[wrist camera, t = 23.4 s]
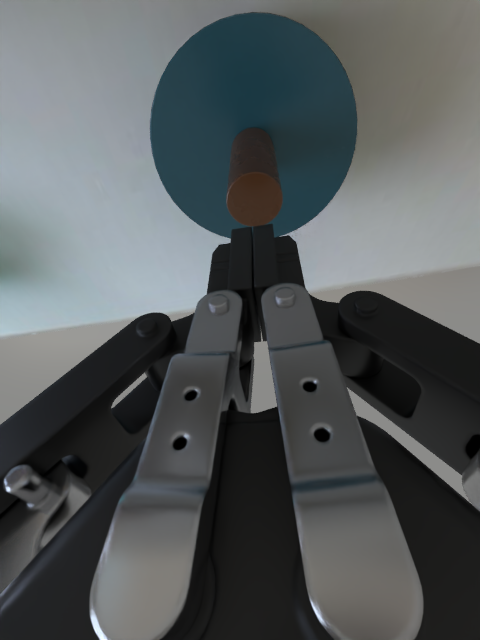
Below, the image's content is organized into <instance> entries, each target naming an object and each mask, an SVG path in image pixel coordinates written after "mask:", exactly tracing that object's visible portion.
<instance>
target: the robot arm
mask: <svg viewBox="0 0 480 640" xmlns="http://www.w3.org/2000/svg"><path fill="white" fill-rule="evenodd" d="M211 263H212V264H211V268H210V270H211V271H210V275H209V282H208V289H207V295H205V296H204V297H203V298H201V300H200V301H199V302H198V304H197V306H196V310H195V313H193V314H191V315H189V316H187V317H184V318H182V319H179V320H175V321H173V322H171V320H170V318H169V317H168V316H167V315H165V314H163V313H148V314H145V315H143V316H140V317H138V318H137V319H135V320H134V321H132V322H131V323H130V324H129V325H127V326H126V327H125V328H124V329H122V330H121V331H120V332H119V333H117V334H116V335H115V336H113V337H112V338H111V339H109V340H108V341H107V342H106V343H105V344H103V345H102V346H101V347H99V348H98V349H97V350H95V351H94V352H93V353H92V354H90V355H89V356H88V357H86V358H85V359H84V360H83V361H81V362H80V363H79V364H78V365H76V366H75V367H74V368H73V369H71V370H70V371H69V372H67V373H66V374H65V375H63V376H62V377H61V378H60V379H58V380H57V381H56V382H55V383H53V384H52V385H51V386H49V387H48V388H47V389H46V390H44V391H43V392H42V393H40V394H39V395H38V396H37V397H35V398H34V399H33V400H32V401H30V402H29V403H28V404H26V405H25V406H24V407H23V408H21V409H20V410H19V411H17V412H16V413H15V414H14V415H12V416H11V417H10V418H9V419H7V420H6V421H5V422H3V423H2V424H1V425H0V640H480V344H479V343H477V342H475V341H473V340H471V339H469V338H467V337H465V336H463V335H461V334H459V333H457V332H455V331H453V330H451V329H449V328H447V327H445V326H443V325H441V324H439V323H437V322H435V321H433V320H431V319H429V318H427V317H425V316H423V315H421V314H419V313H417V312H415V311H413V310H411V309H409V308H407V307H405V306H403V305H401V304H399V303H397V302H395V301H393V300H391V299H389V298H387V297H385V296H383V295H381V294H379V293H376V292H371V291H356V292H352V293H350V294H347V295H346V296H344V297H343V298H342V299H341V300H340V303H334V302H326V301H322V300H319V299H317V298H315V297H313V296H311V295H310V294H309V293H308V291H307V290H306V288H305V284H304V279H303V274H302V269H301V264H300V260H299V254H298V249H297V244H296V242H295V241H294V240H293V239H292V238H291V237H290V236H281V237H274V230H273V224H267V225H259V226H253V231H252V227H245V228H238V229H232V231H231V243H229V244H221V245H219V246H218V247H217V248H216V250H215V251H214V252H213V254H212V261H211ZM261 332H262V337H263V341H267V343H268V349H269V356H270V363H271V369H272V375H273V382H274V388H275V394H276V401H277V407H275V408H272V409H268V410H266V411H262V412H259V413H251V397H252V385H253V384H252V383H253V371H254V357H253V354H254V342H261ZM144 372H145V374H146V375H147V378H146V379H145V380H143V381H142V382H141V383H140V384H139V385H138V386H137V387H136V388H135V389H133V390H132V391H131V392H130V393H129V394H128V395H127V396H126V397H125V398H124V399H123V400H121V401H120V402H119V403H118V404H117V405H116V406H115V407H114V408H112V409H111V406H112V403H113V402H114V400H115V399H116V398H117V397H118V396H119V395H120V394H121V393H122V392H123V391H124V390H125V389H127V388H128V387H129V386H130V385H131V384H132V383H133V382H134V381H136V380H137V378H139V377H140V376H141V375H142V374H143V373H144ZM347 387H348V388H349V389H350V390H351V391H353V392H354V393H355V394H357V395H358V396H359V397H361V398H362V399H363V400H364V401H366V402H367V403H368V404H370V405H371V406H372V407H374V408H375V409H377V411H379V412H380V413H381V414H383V415H384V416H385V417H387V418H388V419H389V420H391V421H392V422H393V423H395V424H396V425H397V426H398V427H400V428H401V429H402V430H404V431H405V432H406V433H407V434H409V435H410V436H411V437H413V438H414V439H415V440H417V441H418V442H419V443H420V444H422V445H423V446H424V447H426V448H427V449H428V450H430V451H431V452H432V453H433V454H435V455H436V456H437V457H439V458H440V459H441V460H443V461H444V462H445V463H447V464H448V465H449V466H450V467H452V468H453V469H454V470H456V471H457V472H458V473H459V474H461V475H462V485H463V488H464V491H465V494H466V496H467V497H468V499H469V501H470V502H471V503H472V504H471V503H469V502H468V501H467V500H466V499H465V498H464V497H462V496H461V495H460V494H459V493H457V492H456V491H455V490H454V489H453V488H452V487H450V486H449V485H448V484H447V483H446V482H445V481H444V480H442V479H441V478H440V477H439V476H438V475H436V474H435V473H434V472H433V471H432V470H431V469H429V468H428V467H427V466H426V465H425V464H423V463H422V462H421V461H420V460H419V459H418V458H416V457H415V456H414V455H413V454H412V453H410V452H409V451H408V450H407V449H406V448H405V447H404V446H402V445H401V444H400V443H399V442H398V441H396V440H395V439H394V438H393V437H392V436H391V435H389V434H388V433H387V432H386V431H384V430H383V429H381V428H380V427H378V426H377V425H375V424H373V423H371V422H369V421H368V420H366V419H364V418H361V417H359V416H357V415H356V412H355V410H354V407H353V404H352V401H351V398H350V396H349V392H348V390H347Z"/></svg>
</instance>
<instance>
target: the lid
mask: <svg viewBox="0 0 480 640" xmlns="http://www.w3.org/2000/svg"><path fill="white" fill-rule="evenodd" d="M356 137H357V111H356V102H355V98H354V94H353V90H352V86H351V84H350V81H349V79H348V76H347V73H346V71H345V70H344V68H343V66H342V64H341V62H340V61H339V59H338V57H337V56H336V55H335V53H334V52H333V51H332V50H331V48H330V47H329V46H328V45H327V44H326V43H325V42H324V41H323V40H322V39H321V38H320V37H319V36H318V35H317V34H316V33H314V32H313V31H311V30H310V29H308V28H307V27H305V26H304V25H302V24H300V23H298V22H296V21H293V20H291V19H289V18H286V17H283V16H279V15H275V14H271V13H257V12H251V13H243V14H236V15H232V16H229V17H226V18H223V19H220V20H218V21H216V22H214V23H212V24H210V25H208V26H206V27H204V28H203V29H202V30H200V31H199V32H197V33H196V34H195V35H193V36H192V37H191V38H190V39H189V40H188V41H187V42H186V43H185V44H184V45H183V46H182V47H181V48H180V49H179V50H178V51H177V53H176V54H175V55H174V57H173V58H172V59H171V61H170V62H169V64H168V65H167V67H166V69H165V71H164V73H163V75H162V77H161V79H160V81H159V84H158V87H157V89H156V92H155V96H154V100H153V104H152V109H151V119H150V141H151V148H152V154H153V158H154V162H155V166H156V169H157V171H158V174H159V177H160V179H161V181H162V183H163V185H164V187H165V189H166V191H167V192H168V194H169V195H170V197H171V198H172V200H173V201H174V202H175V203H176V205H177V206H178V207H179V208H180V209H181V210H182V211H183V212H184V213H185V214H186V215H187V216H188V217H189V218H190V219H192V220H193V221H194V222H196V223H197V224H198V225H200V226H202V227H203V228H205V229H207V230H209V231H211V232H213V233H216V234H218V235H220V236H224V237H228V238H231V231H232V229H238V228H245V227H252V231H253V226H259V225H267V224H273V230H274V237H279V236H282V235H285V234H287V233H290V232H292V231H294V230H296V229H298V228H300V227H301V226H303V225H305V224H306V223H308V222H309V221H310V220H312V219H313V218H314V217H315V216H317V215H318V214H319V213H320V212H321V211H322V210H323V209H324V208H325V207H326V206H327V204H328V203H329V202H330V201H331V200H332V199H333V197H334V196H335V194H336V193H337V191H338V190H339V188H340V186H341V185H342V183H343V181H344V179H345V177H346V175H347V172H348V170H349V167H350V165H351V162H352V158H353V154H354V150H355V144H356Z"/></svg>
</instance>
